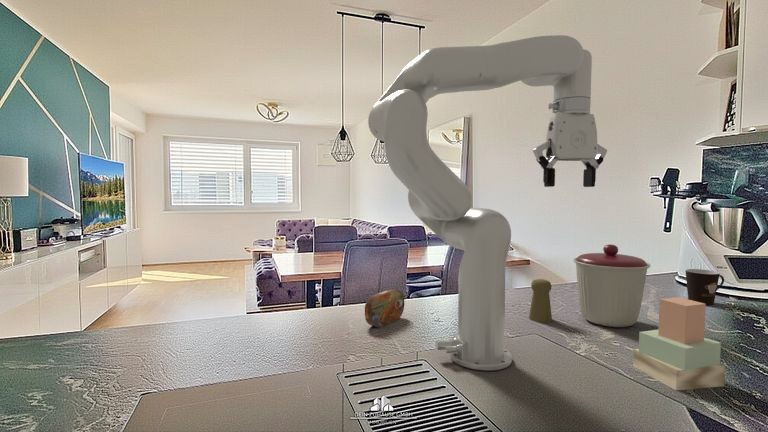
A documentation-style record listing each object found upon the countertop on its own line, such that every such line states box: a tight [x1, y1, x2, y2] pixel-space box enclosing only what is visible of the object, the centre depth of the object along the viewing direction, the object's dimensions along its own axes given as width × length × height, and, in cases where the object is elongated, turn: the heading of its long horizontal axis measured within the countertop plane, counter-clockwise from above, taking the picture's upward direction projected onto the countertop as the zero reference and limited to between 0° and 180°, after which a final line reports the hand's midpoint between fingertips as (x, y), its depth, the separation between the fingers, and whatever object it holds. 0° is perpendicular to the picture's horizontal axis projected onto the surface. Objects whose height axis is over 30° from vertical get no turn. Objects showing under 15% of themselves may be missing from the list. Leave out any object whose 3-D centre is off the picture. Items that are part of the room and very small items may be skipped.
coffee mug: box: [685, 268, 725, 306], centre depth 129 cm, size 12×9×10 cm
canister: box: [572, 243, 651, 328], centre depth 110 cm, size 18×18×21 cm
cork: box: [528, 278, 553, 324], centre depth 113 cm, size 6×6×11 cm
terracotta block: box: [657, 296, 707, 344], centre depth 77 cm, size 5×5×7 cm
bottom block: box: [632, 348, 726, 391], centre depth 78 cm, size 10×10×4 cm
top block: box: [638, 328, 722, 371], centre depth 78 cm, size 9×9×4 cm
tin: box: [364, 289, 405, 328], centre depth 110 cm, size 15×3×8 cm, turn 143°
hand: (569, 186), depth 91 cm, fingers open, 9 cm apart
